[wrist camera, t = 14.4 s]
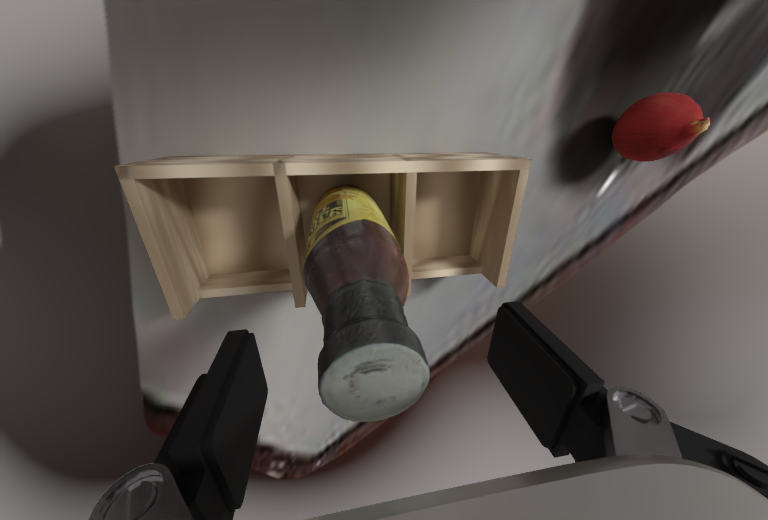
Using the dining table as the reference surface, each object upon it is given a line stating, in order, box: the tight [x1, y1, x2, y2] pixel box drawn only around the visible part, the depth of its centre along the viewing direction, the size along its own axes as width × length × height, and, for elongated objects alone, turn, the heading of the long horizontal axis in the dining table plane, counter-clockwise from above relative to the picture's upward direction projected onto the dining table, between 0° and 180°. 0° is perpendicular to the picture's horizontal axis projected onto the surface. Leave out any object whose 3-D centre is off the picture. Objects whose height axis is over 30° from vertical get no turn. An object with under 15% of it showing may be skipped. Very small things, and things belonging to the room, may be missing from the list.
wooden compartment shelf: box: [114, 153, 532, 320], centre depth 25 cm, size 29×12×7 cm, turn 90°
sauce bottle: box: [303, 185, 430, 422], centre depth 18 cm, size 7×6×20 cm
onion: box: [612, 92, 710, 161], centre depth 26 cm, size 6×6×8 cm
